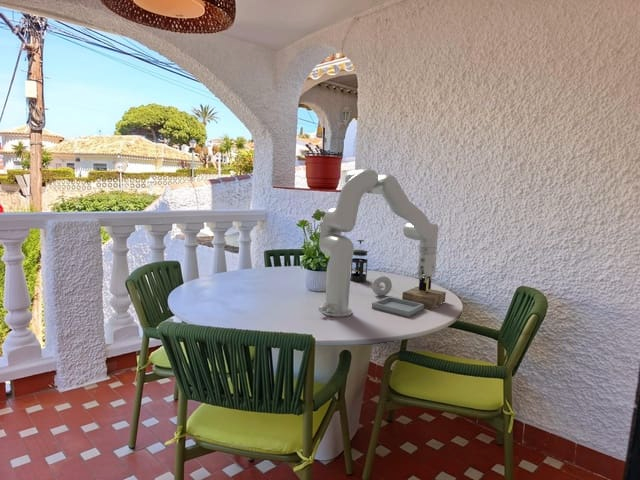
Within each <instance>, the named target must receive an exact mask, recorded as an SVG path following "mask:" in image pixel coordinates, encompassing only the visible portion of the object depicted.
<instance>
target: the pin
mask: <svg viewBox="0 0 640 480" xmlns="http://www.w3.org/2000/svg"><path fill="white" fill-rule="evenodd" d="M423 278H424V277H423ZM428 285H429V277H427V278H426V291H421V293H425V294H428Z"/></svg>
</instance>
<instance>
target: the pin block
mask: <svg viewBox="0 0 640 480" xmlns="http://www.w3.org/2000/svg"><path fill="white" fill-rule="evenodd" d="M446 292H447V291H442V290H437V289H433V288H432V289H428V294H425V293H421V291H420V290H419V286H414V288H413V287H412V288H410V289H407V290H405V291H403V292H402V296H401V297H402V298H401V299H403V300H407V301H412V302H416V303H421V304H424V309H425V308H428V309H427V310H430V309H432V310H434V309H435V308H434V307H436V306H438V305H440V304H441V303H443V302H445V303H446V295H447V293H446ZM443 304H444V303H443ZM441 305H442V304H441ZM441 305H440V306H441ZM438 307H439V306H438ZM433 308H434V309H433ZM436 308H437V307H436Z"/></svg>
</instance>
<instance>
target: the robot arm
mask: <svg viewBox="0 0 640 480" xmlns="http://www.w3.org/2000/svg"><path fill="white" fill-rule="evenodd" d="M344 182H345V184H344V185H343V186H342V188H341V191H340V193H339V196H338V199H337V203H336V207H331V208H329V209H328V210H327V211H326V212H325V213H324V216H323V219H322V223H321V226H320V227H321V228H320V233H319V234H320V235H319V239H318V248H319V250H320V252H321V253H323V255H326V256H328V257H329V259H328V263H327V266H326V283H325V301H324V303H323V305H322V306H319V307H318V312H319V313H321V314H323V315H325V316H328V317H334V318H335V317H336V318H344V317H348V316H350V315H352V313H353V309H352V308H350V307H349V305H350V304H349V303H350V302H349V301H350V288H351V287H350V285H351V281H350V277H351V261H352V259H353V258H354V257H353V256H354V255H353V253H354V250H355V247H354V246H355V245H354V243H353V241H352V240H351V239H350V238H349V237H347V236H346V235H342V233H351V231H353V230H354V228H355V226H356V222H357V217H358V213H359V212H358V211H359V207H360V202H361V199H362V198H363V197H364V195H365V194H374V195H381V196H382V198H383V199H384V201H385V202H386V203H387V205H388V207H389V209H390V210H391V212H393V214H395V215H396V216H398V217H399V218H402V219H404V220H406V221H407V223H406V224H405V225H404V226H403V229H402V232H403V235H404V236H405V238H407V239H410V240H414V241H415V240H416V241H419V248H418V253H419V257H418V264H417V265H418V268H417V274H418V276H417V277H418V283H419V284H418V287H419V290H420V291H426V278H427V277H429V285H428V289H431V288H432V281H433V280H432V279H433V278H432V277H433V275H435V274H436V270H437V269H436V268H437V267H436V266H437V248H438V239H439V237H438V236H439V225H438V224H436V223H432V222H431V221H430V220H429V218H428V217H427V215H426V214H425V213H424V212H423V211H422V209H420V208H419V207H417V206H416V205H415V204H414V203H413V202H412V201H410V199H409V198H408V196H407V195H406V192H405V191H404V189H403V188H402V186H401V184H400V183H399V180H397V178H396V177H395V175H392V174H389V173H383V174H382V173H381V174H378V172H377V171H376V170H374V169H371V168H362V169H352V170H350V171H349V172H347V174H346V176H345V179H344ZM423 277H424V278H423Z"/></svg>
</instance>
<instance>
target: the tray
mask: <svg viewBox="0 0 640 480" xmlns="http://www.w3.org/2000/svg"><path fill="white" fill-rule="evenodd" d="M371 309H372V310H376V311H380V312H385V313H388V314H392V315H396V316H400V317H404V318H408V319H409V318H410V317H412V316H413V317H414V316H415V315H417V314H419V313H420V312H422V311H424V310H425V308H424V304H421V303H416V302H412V301H407V300H403V299H402V298H398V297H393V296H387V297H384V298H381V299H379V300H378V299H377V300H376V301H373V302H372V303H371Z"/></svg>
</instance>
